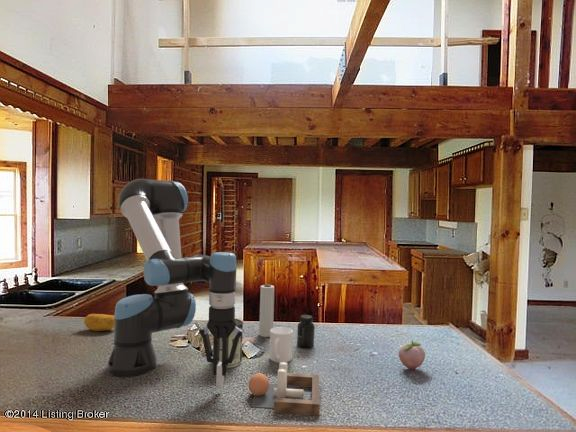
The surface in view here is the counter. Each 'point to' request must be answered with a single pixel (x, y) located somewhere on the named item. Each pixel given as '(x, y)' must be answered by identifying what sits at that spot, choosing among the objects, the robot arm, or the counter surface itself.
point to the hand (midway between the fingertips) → (219, 385)
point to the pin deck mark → (268, 397)
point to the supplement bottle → (305, 332)
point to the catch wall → (298, 404)
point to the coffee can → (238, 353)
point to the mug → (281, 344)
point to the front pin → (291, 393)
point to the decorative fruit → (411, 355)
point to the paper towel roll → (266, 310)
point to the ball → (258, 384)
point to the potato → (99, 322)
